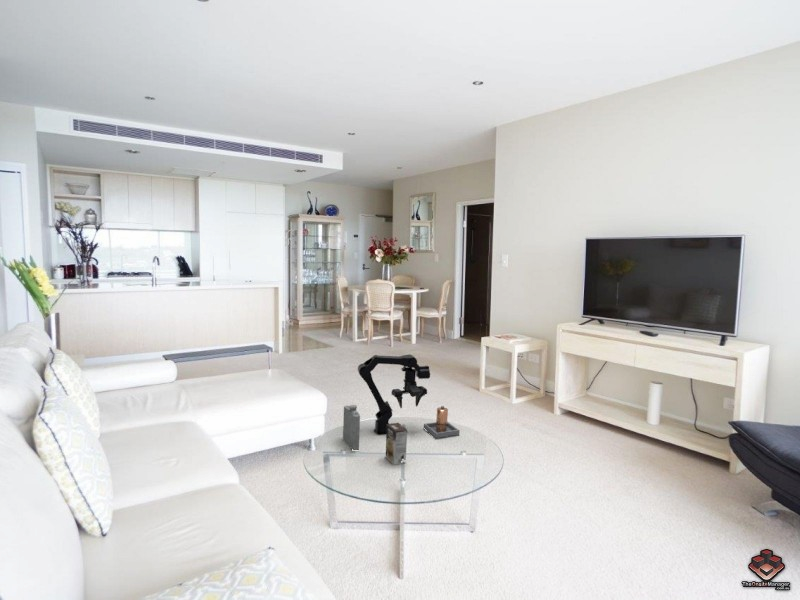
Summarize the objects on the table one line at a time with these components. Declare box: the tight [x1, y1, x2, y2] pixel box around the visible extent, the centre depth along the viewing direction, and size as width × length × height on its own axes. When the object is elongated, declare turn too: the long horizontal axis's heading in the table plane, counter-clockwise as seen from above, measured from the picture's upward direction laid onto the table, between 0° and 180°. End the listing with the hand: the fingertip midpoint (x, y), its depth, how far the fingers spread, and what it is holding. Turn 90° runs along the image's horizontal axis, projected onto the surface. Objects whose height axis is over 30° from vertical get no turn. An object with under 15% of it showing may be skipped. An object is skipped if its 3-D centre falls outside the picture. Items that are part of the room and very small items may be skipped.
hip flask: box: [342, 404, 361, 451], centre depth 229 cm, size 16×4×20 cm, turn 27°
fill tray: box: [423, 421, 460, 440], centre depth 249 cm, size 14×14×3 cm
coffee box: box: [385, 422, 408, 466], centre depth 215 cm, size 9×6×16 cm
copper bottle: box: [435, 405, 449, 432], centre depth 249 cm, size 6×6×14 cm
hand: (408, 407), depth 249 cm, fingers open, 9 cm apart
